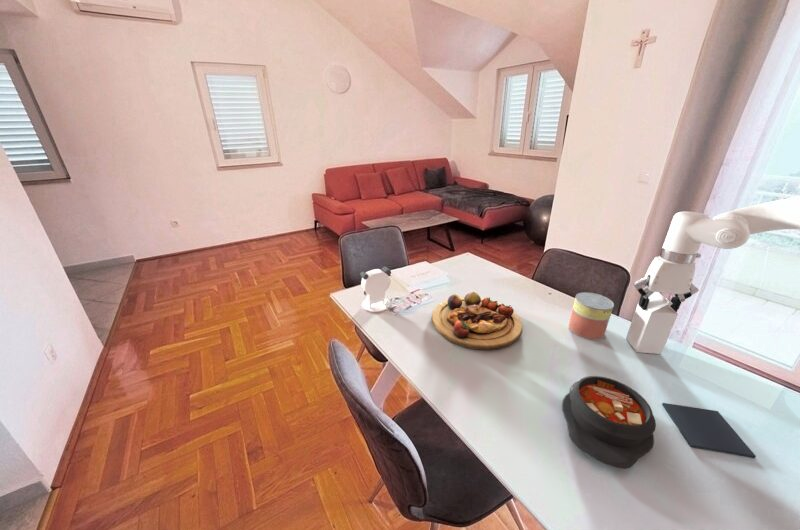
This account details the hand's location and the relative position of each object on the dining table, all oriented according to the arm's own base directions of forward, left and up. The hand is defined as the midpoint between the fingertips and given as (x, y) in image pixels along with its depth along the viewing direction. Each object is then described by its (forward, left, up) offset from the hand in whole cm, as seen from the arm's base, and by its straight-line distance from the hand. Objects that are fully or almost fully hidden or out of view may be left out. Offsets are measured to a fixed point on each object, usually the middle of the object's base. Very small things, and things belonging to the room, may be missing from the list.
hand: (656, 309), depth 96 cm
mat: (0, +31, -14) cm, 34 cm away
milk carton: (0, 0, -14) cm, 14 cm away
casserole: (+23, +35, -14) cm, 44 cm away
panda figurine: (+92, -7, -14) cm, 93 cm away
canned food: (+15, -6, -14) cm, 22 cm away
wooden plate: (+53, -2, -14) cm, 55 cm away
